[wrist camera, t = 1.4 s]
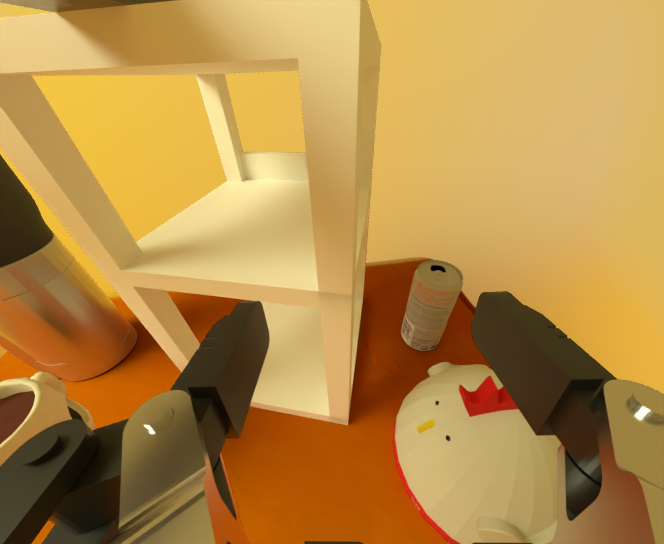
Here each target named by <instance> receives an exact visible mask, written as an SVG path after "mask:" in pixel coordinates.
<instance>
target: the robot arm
mask: <svg viewBox="0 0 664 544" xmlns="http://www.w3.org/2000/svg"><path fill="white" fill-rule="evenodd" d="M471 335H472V338H473V341H474V343H475V344H476V346H477V347H478V349H479V350H480V352H481V353H482V355H483V356H484V358H485V359H486V361H487V362H488V364H489V365H490V367H491V368H492V370H493V371H494V373H495V374H496V376H497V377H498V379H499V380H500V382H501V383H502V385H503V386H504V388H505V389H506V391H507V392H508V394H509V395H510V397H511V398H512V400H513V401H514V403H515V404H516V406H517V407H518V409H519V410H520V412H521V413H522V415H523V416H524V418H525V419H526V421H527V422H528V424H529V425H530V427H531V428H532V430H533V431H534V433H535V434H536V436H546V435H556V437H557V438H558V439H559V441H560V442H561V444H560V446H559V447H558V451H557V526H556V531H555V534H554V537H553V539H552V542H551V544H664V394H662V393H660V392H659V391H657V390H654V389H652V388H650V387H647V386H645V385H642V384H639V383H636V382H632V381H627V380H618V379H616V378H615V377H614V376H613V375H612V374H611V373H609V372H608V371H607V370H606V369H605V368H604V367H603V366H601V365H600V364H599V363H598V362H597V361H596V360H594V359H593V358H592V357H591V356H590V355H589V354H588V353H586V352H585V351H584V350H583V349H582V348H581V347H579V346H578V345H577V344H576V343H575V342H574V341H572V340H571V339H568V338H567V335H566V334H564V333H563V332H562V331H561V330H560V329H558V328H556V326H555V325H554V324H553V323H552V322H551V321H549V320H548V319H547V318H546V317H545V316H544V315H542V314H541V313H539V312H537V311H535V310H533V309H531V308H530V307H528V306H526V305H523V304H522V303H521V302H519V301H518V300H517V299H516V298H515V297H514V296H513V295H512V294H511V293H509V292H506V291H505V292H483V293H482V294H481V295H480V296H479V299H478V303H477V306H476V310H475V313H474V317H473V321H472V324H471ZM137 337H138V335H137V331H136V329H135V328H134V327H133V326H132V325H131V323H130V322H129V321H128V320H127V319H126V318H125V316H124V315H123V314H122V313H121V312H120V310H119V309H118V308H117V307H116V306H115V304H114V303H113V302H112V301H111V300H110V299H109V297H108V296H107V295H106V294H105V293H104V292H103V290H102V289H101V288H100V287H99V286H98V285H97V283H96V282H95V281H94V280H93V279H92V278H91V276H90V275H89V274H88V273H87V272H86V271H85V269H84V268H83V267H82V266H81V265H80V263H79V262H78V261H77V260H76V259H75V258H74V256H72V254H71V253H70V252H69V251H68V250H67V248H66V247H65V246H64V245H63V244H62V243H61V241H60V240H59V239H58V238H57V237H56V235H55V234H54V233H53V232H52V231H51V230H50V228H49V227H48V226H47V225H46V224H45V222H44V220H43V218H42V216H41V214H40V211H39V209H38V207H37V205H36V203H35V201H34V199H33V198H32V196H31V195H30V193H29V192H28V191H27V189H26V188H25V187H24V186H23V184H22V183H21V182H20V180H19V179H18V178H17V176H16V175H15V174H14V172H13V171H12V170H11V169H10V167H9V166H8V165H7V163H6V162H5V160H4V159H3V158H2V156H1V155H0V346H1V347H3V348H4V349H6V350H7V351H9V352H10V353H12V354H13V355H15V356H16V357H18V358H19V359H21V360H22V361H24V362H25V363H27V364H28V365H30V366H32V367H33V368H35V369H36V370H38V371H41V372H47V373H50V374H51V375H53V376H54V377H56V378H57V379H59V378H62V379H65V380H67V381H82V380H86V379H90V378H93V377H95V376H98V375H100V374H102V373H104V372H106V371H108V370H109V369H111V368H112V367H114V366H115V365H117V364H118V363H119V362H120V361H122V360H123V359H124V358H125V357H126V356H127V355H128V354H129V353H130V352H131V350H132V349H133V347H134V346H135V344H136V341H137ZM269 341H270V336H269V329H268V325H267V321H266V317H265V313H264V309H263V306H262V303H261V302H260V301H244V302H238V303H237V305H236V306H235V308H234V310H233V311H232V313H231V315H230V316H224V317H223V318H221V319H220V320H219V321H218V322H217V323H215V324H214V325H213V326H212V328H211V329H210V331H209V332H208V334H207V335H206V337H205V339H204V340H203V341H202V343H201V344H200V346H199V349H197V350H196V352H195V353H194V355H193V356H192V358H191V359H190V361H189V362H188V364H187V366H186V367H185V369H184V370H183V372H182V373H181V375H180V376H179V378H178V379H177V381H176V382H175V384H174V385H173V387H172V388H171V390H170V391H167V392H164V393H161V394H159V395H156V396H155V397H153V398H151V399H150V400H148V401H147V402H145V403H144V404H143V405H142V406H140V407H139V408H138V409H137V410H136V411H135V413H134V414H133V415H132V416H131V417H130V419H127V420H123V421H120V422H117V423H114V424H111V425H108V426H104V427H101V428H98V429H95V430H92V429H91V428H90V427H89V426H88V425H87V424H86V423H85V422H84V421H82V420H79V419H71V420H66V421H62V422H59V423H57V424H54V425H52V426H50V427H48V428H46V429H44V430H43V431H41V432H39V433H38V434H36V435H35V436H33V437H32V438H30V439H29V440H28V441H26V442H25V443H24V444H23V445H21V446H20V447H19V448H18V449H17V450H16V451H15V452H14V453H13V454H12V455H11V456H10V457H9V458H8V459H7V460H6V461H5V462H4V463H3V464H2V465H1V466H0V544H31V543H32V542H33V540H34V539H35V538H36V536H37V535H38V533H39V532H40V531H41V529H42V528H43V526H44V525H45V524H46V522H47V521H48V520H49V521H51V522H53V523H54V524H55V525H54V527H53V528H52V530H51V531H50V532H49V534H48V535H47V537H46V538H45V540H44V541H43V543H42V544H250V543H249V541H248V538H247V536H246V534H245V531H244V528H243V526H242V523H241V520H240V516H239V513H238V509H237V506H236V502H235V499H234V495H233V492H232V489H231V485H230V482H229V478H228V475H227V471H226V468H225V464H224V461H223V457H222V454H221V450H222V447H223V444H224V442H225V439H226V438H239V437H240V434H241V431H242V428H243V425H244V422H245V419H246V415H247V412H248V409H249V406H250V403H251V400H252V397H253V394H254V391H255V388H256V385H257V382H258V379H259V376H260V373H261V369H262V366H263V363H264V360H265V357H266V354H267V351H268V348H269ZM305 544H363V543H361V542H324V541H305ZM472 544H533V543H477V542H474V543H472Z"/></svg>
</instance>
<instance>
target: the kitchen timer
mask: <svg viewBox="0 0 664 544" xmlns="http://www.w3.org/2000/svg"><path fill="white" fill-rule="evenodd" d="M428 374H429V376H430V377H429V378H427V379H425V380H423V381H421V382H420V383H418V384H417V385H416V386H415V387H414V388H413V390H412V391H411V392H410V393H409V394H408V395H407V396H406V397H405V399H404V400H403V402H402V405H401V407H400V410H399V412H398V414H397V417H396V420H395V424H394V435H393V447H394V454H395V460H396V466H397V469H398V471H399V474H400V476H401V479H402V482H403V484H404V487H405V489H406V492H407V493H408V495H409V496H410V498H411V499H412V501H413V503H414V504H415V506H416V507H417V509H418V510H419V512H420V513H421V515H422V516H423V518H424V519H425V520H426V521H427V522H428V523H429V524H430V525H431V526H432V527H433V528H434V529H435V530H436V531H438V532H439V533H440V534H441V535H442V536H443V537H444V538H445V539H446V540H447V541H449V542H450V543H452V544H472V543H474V542H477V543H533V544H551V542H552V539H553V537H554V534H555V531H556V526H557V451H558V447H559V446H560V444H561V442H560V441H559V439H558V438H557V437H556V435H546V436H536V434H535V433H534V431H533V430H532V428H531V427H530V425H529V424H528V422H527V421H526V419H525V418H524V416H523V415H522V413H521V412H520V410H519V409H518V407H517V406H516V404H515V403H514V401H513V400H512V398H511V397H510V395H509V394H508V392H507V391H506V389H505V388H504V386H503V385H502V383H501V382H500V380H499V379H498V377H497V376H496V374H495V373H494V371H493V370H492V369H489V367H488V366H486V365H481V364H474V365H453V364H451V363H449V362H441V363H438V364H436V365H434V366H432V367H431V368H430V369H429V370H428Z"/></svg>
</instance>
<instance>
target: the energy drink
mask: <svg viewBox="0 0 664 544" xmlns="http://www.w3.org/2000/svg"><path fill="white" fill-rule="evenodd" d="M462 280H463V276H462V273H461V272H460V270H459V269H458V268H456V267H455V266H453V265H451V264H449V263H447V262H443V261H437V260H429V261H425V262H423V263H421V264H420V265H419V266H418V268H417V270H416V271H415V273H414V277H413V281H412V285H411V290H410V294H409V298H408V302H407V307H406V311H405V315H404V319H403V323H402V328H401V336H402V338H403V340H404V341H405V343H406V344H407V345H409V346H410V347H412V348H413V349H416V350H419V351H430V350H433V349H435V348H436V347H437V346H438V344H439V342H440V339H441V337H442V334H443V332H444V329H445V327H446V325H447V322H448V320H449V317H450V315H451V313H452V310H453V308H454V305H455V303H456V301H457V298H458V296H459V293H460V291H461V288H462V285H463V282H462Z"/></svg>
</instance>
